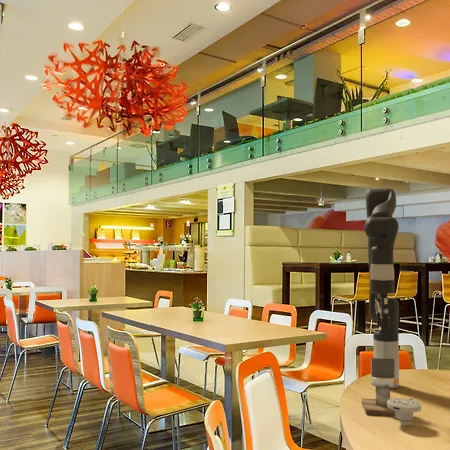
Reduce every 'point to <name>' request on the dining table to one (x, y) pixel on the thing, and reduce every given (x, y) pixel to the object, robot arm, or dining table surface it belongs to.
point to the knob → (383, 373)
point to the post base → (375, 408)
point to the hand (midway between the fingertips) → (382, 328)
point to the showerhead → (404, 409)
